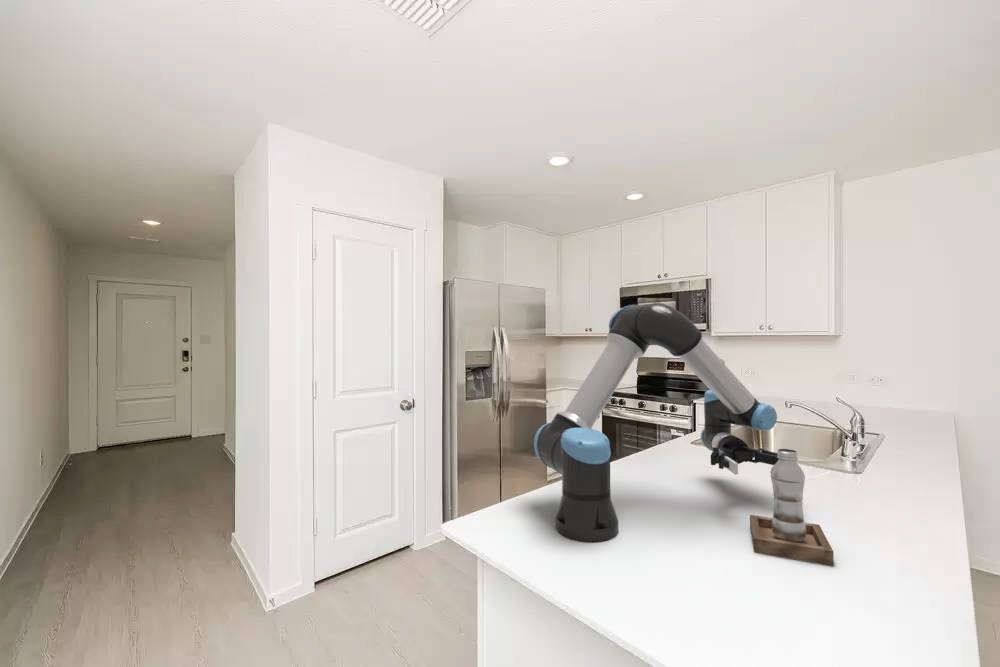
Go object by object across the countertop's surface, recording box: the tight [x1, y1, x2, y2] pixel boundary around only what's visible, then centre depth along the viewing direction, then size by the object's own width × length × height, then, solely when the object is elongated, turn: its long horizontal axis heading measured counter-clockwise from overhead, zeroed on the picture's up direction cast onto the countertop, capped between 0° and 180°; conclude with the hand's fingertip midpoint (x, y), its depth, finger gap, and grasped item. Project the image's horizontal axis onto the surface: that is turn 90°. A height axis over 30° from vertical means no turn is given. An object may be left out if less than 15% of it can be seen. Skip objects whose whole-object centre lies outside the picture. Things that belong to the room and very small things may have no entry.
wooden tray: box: [749, 514, 835, 567], centre depth 100 cm, size 14×14×3 cm
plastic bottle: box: [769, 448, 807, 543], centre depth 100 cm, size 6×7×20 cm
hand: (765, 469), depth 109 cm, fingers open, 13 cm apart
